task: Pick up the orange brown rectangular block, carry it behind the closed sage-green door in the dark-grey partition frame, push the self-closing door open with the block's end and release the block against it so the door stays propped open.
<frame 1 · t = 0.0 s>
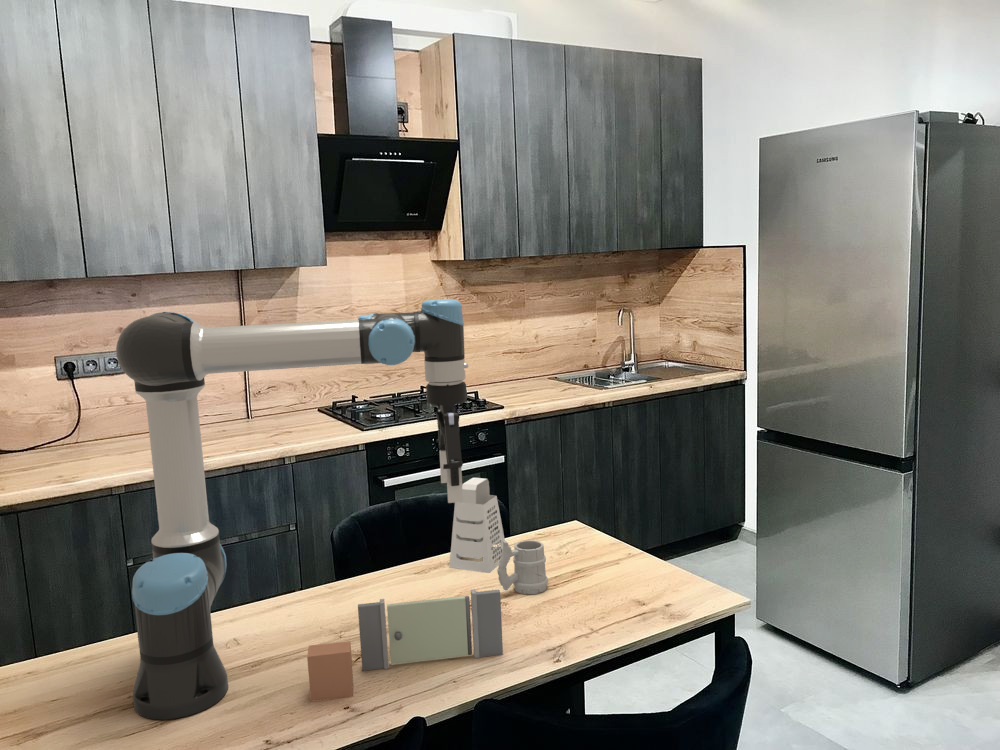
hand: (451, 491, 158), 28 cm above the table, fingers open, 13 cm apart
door: (430, 631, 149), point 6 cm above the table, hinge at 0.0°
mug: (522, 591, 180), on the table
orange brown rectangular block: (332, 693, 141), on the table
frame: (431, 661, 150), on the table
grater: (479, 563, 198), on the table
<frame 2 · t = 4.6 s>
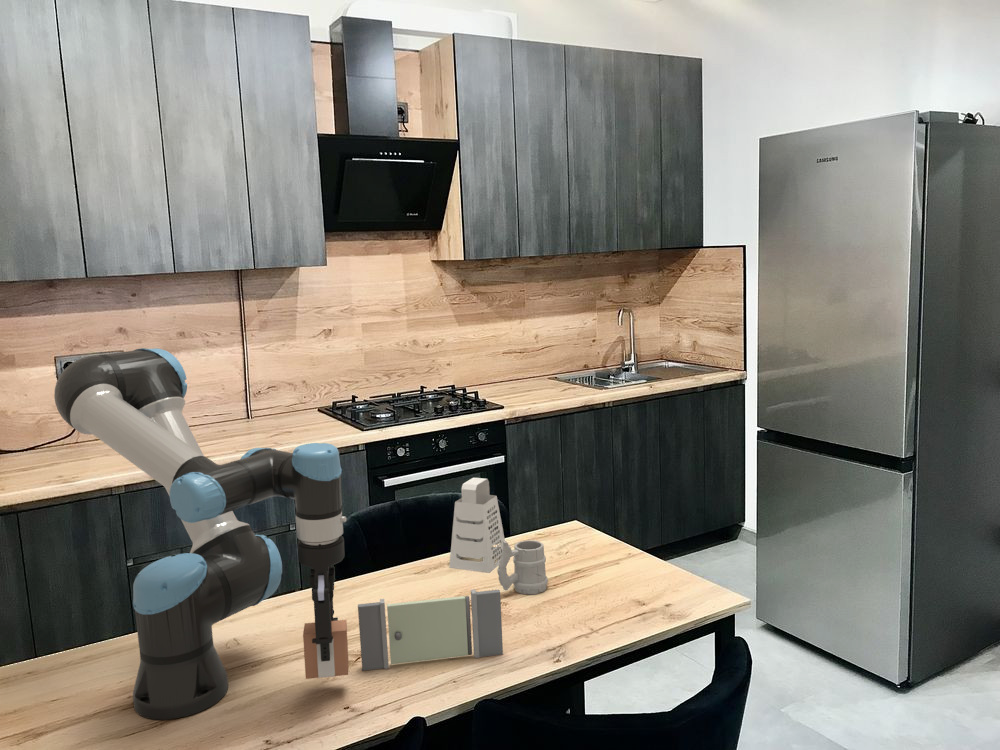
hand: (327, 668, 141), 4 cm above the table, fingers closed on orange brown rectangular block, 4 cm apart
orange brown rectangular block: (327, 670, 141), point 4 cm above the table, touching gripper
everything else where it was.
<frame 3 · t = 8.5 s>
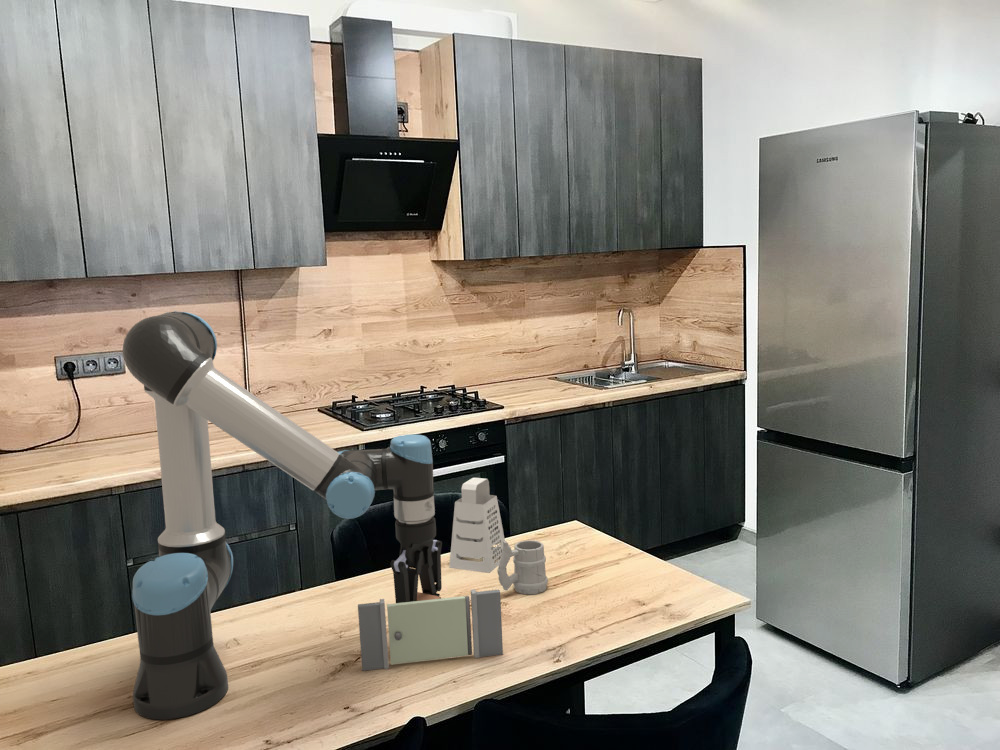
hand: (421, 635, 158), 1 cm above the table, fingers closed on orange brown rectangular block, 4 cm apart
orange brown rectangular block: (422, 637, 158), point 1 cm above the table, touching gripper
everything else where it was.
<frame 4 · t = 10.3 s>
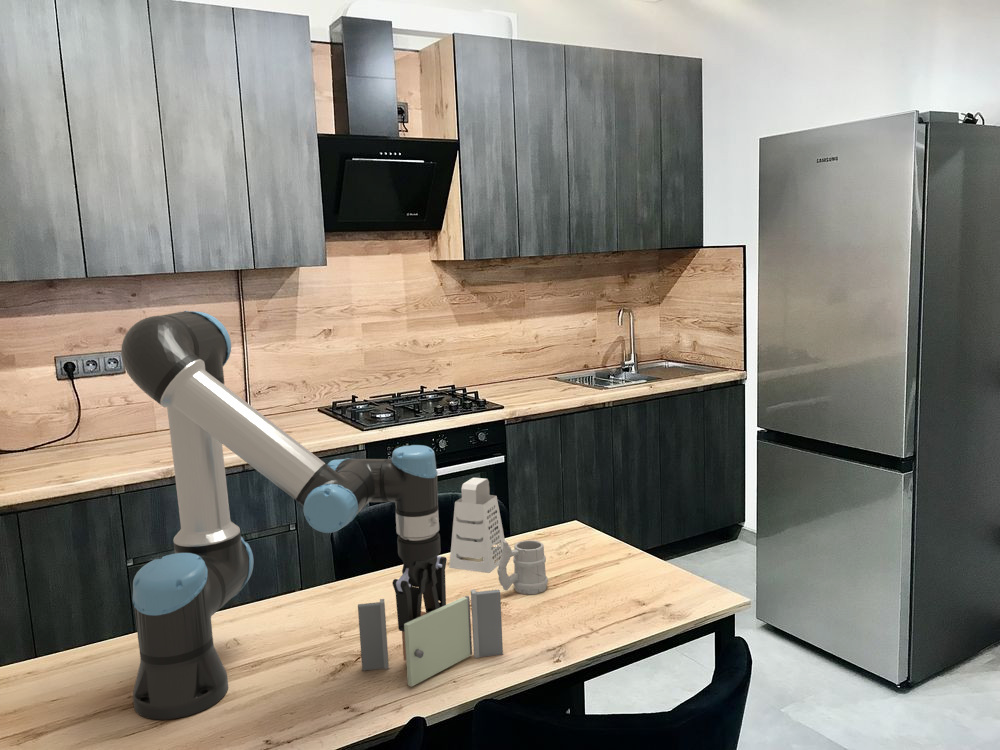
hand: (425, 657, 149), 1 cm above the table, fingers closed on orange brown rectangular block, 4 cm apart
door: (442, 640, 145), point 6 cm above the table, hinge at 37.3°, touching orange brown rectangular block
orange brown rectangular block: (425, 659, 149), point 1 cm above the table, touching door, gripper
everything else where it was.
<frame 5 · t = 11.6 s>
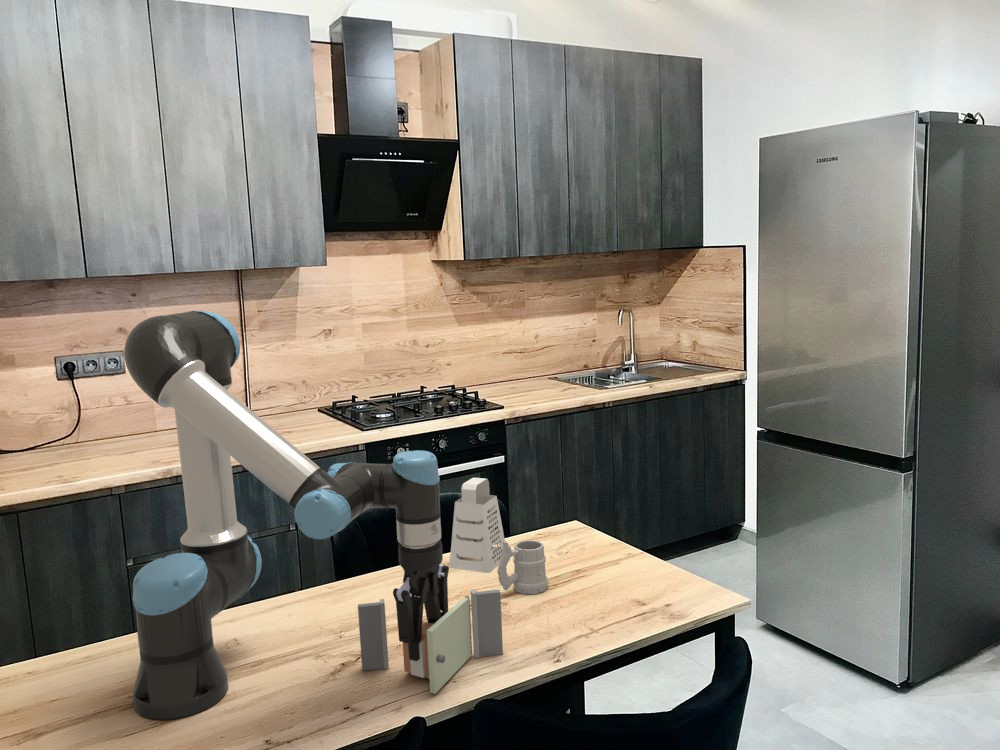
hand: (426, 668, 145), 1 cm above the table, fingers closed on orange brown rectangular block, 4 cm apart
door: (453, 643, 144), point 6 cm above the table, hinge at 57.2°, touching orange brown rectangular block
orange brown rectangular block: (427, 671, 145), point 1 cm above the table, touching door, gripper
everything else where it was.
when the fingers open (1 cm above the table, at t = 12.4 s): orange brown rectangular block stays where it is, on the table.
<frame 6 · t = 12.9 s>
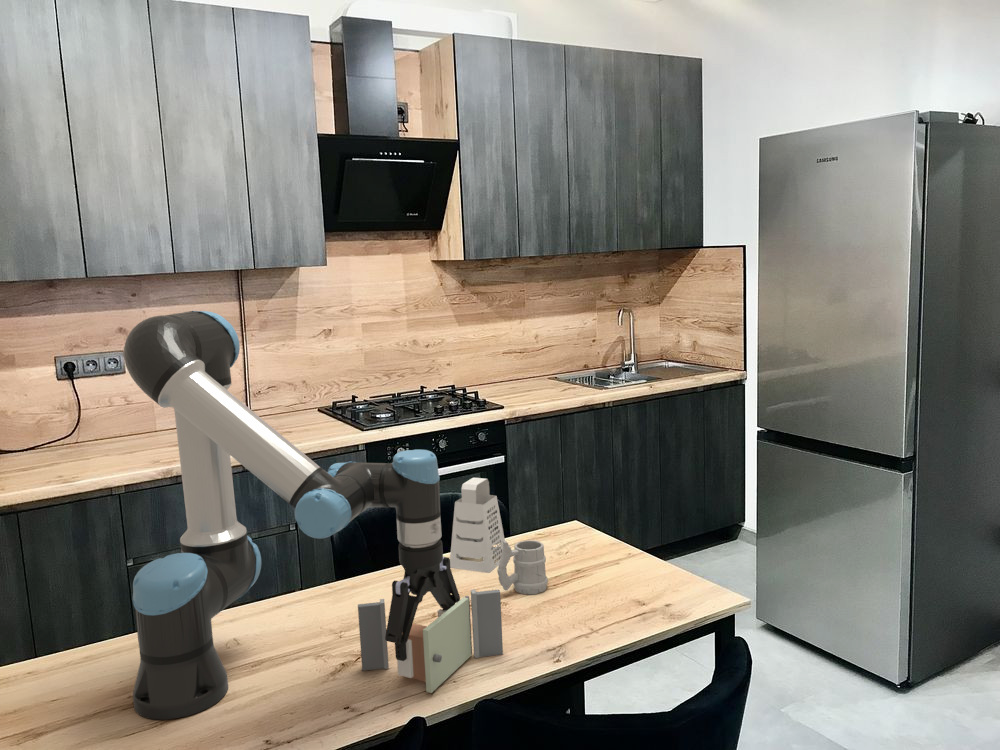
hand: (427, 659, 145), 3 cm above the table, fingers open, 11 cm apart
door: (451, 642, 144), point 6 cm above the table, hinge at 54.2°
orange brown rectangular block: (426, 674, 146), on the table
everything else where it was.
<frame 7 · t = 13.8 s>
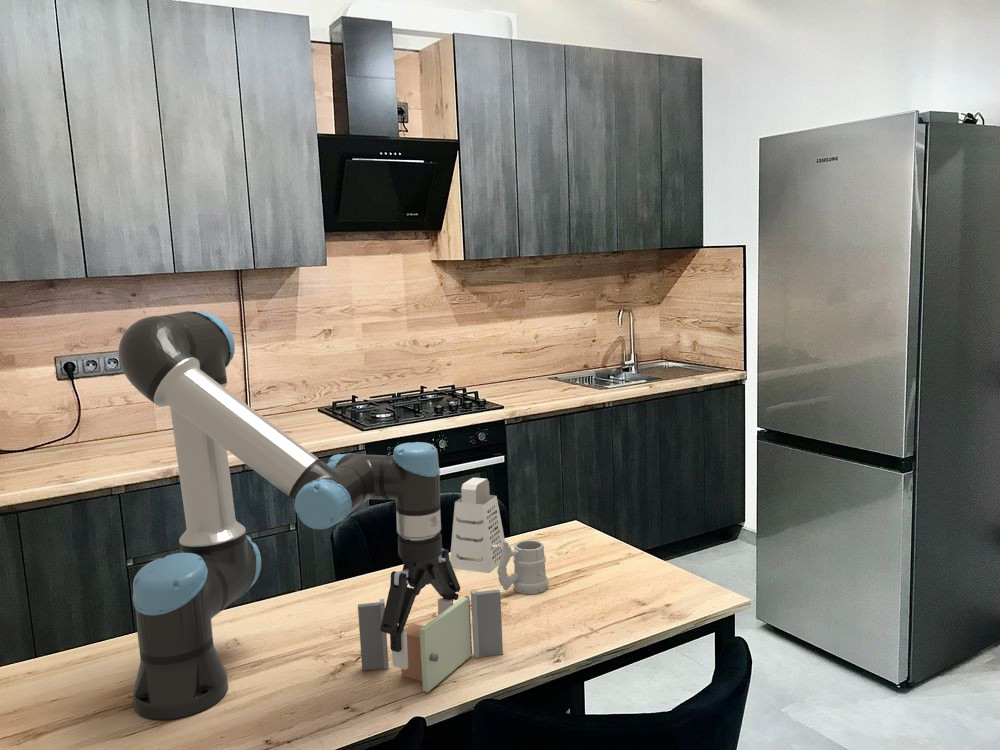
hand: (424, 650, 145), 5 cm above the table, fingers open, 13 cm apart
door: (450, 642, 144), point 6 cm above the table, hinge at 51.5°, touching orange brown rectangular block
orange brown rectangular block: (424, 674, 146), on the table, touching door
everything else where it was.
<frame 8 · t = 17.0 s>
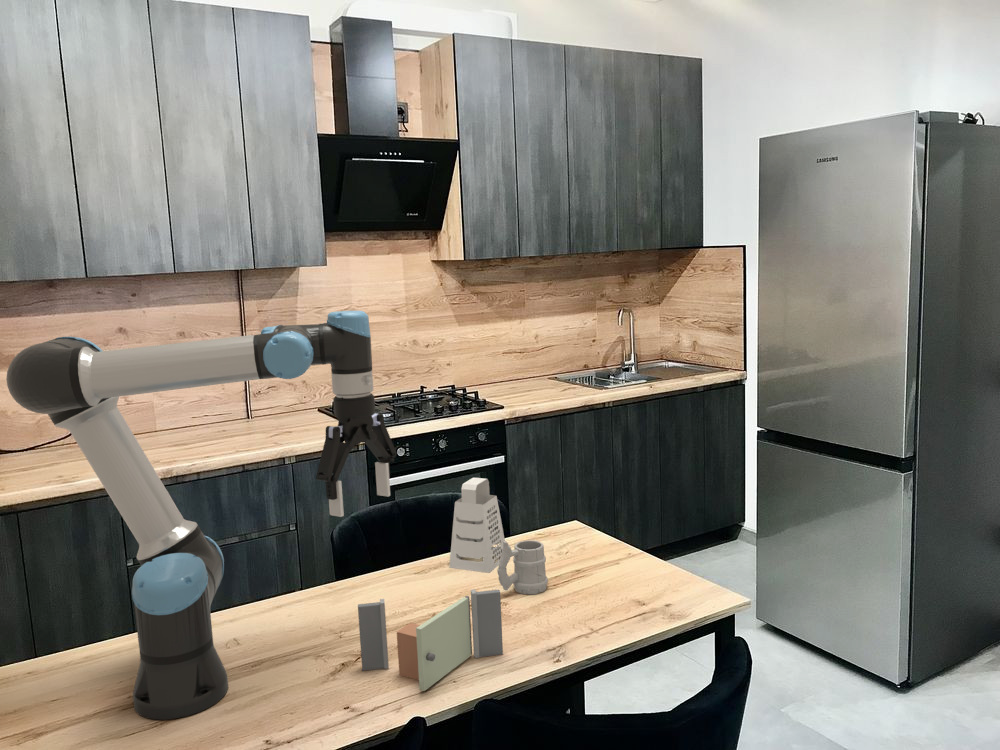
hand: (361, 505, 157), 27 cm above the table, fingers open, 13 cm apart
door: (448, 642, 144), point 6 cm above the table, hinge at 48.5°, touching orange brown rectangular block
everything else where it was.
at the end: door at +48° (first picture: +0°); orange brown rectangular block inside the target area (1.4 cm from its centre), on the table; orange brown rectangular block tilted 0° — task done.
